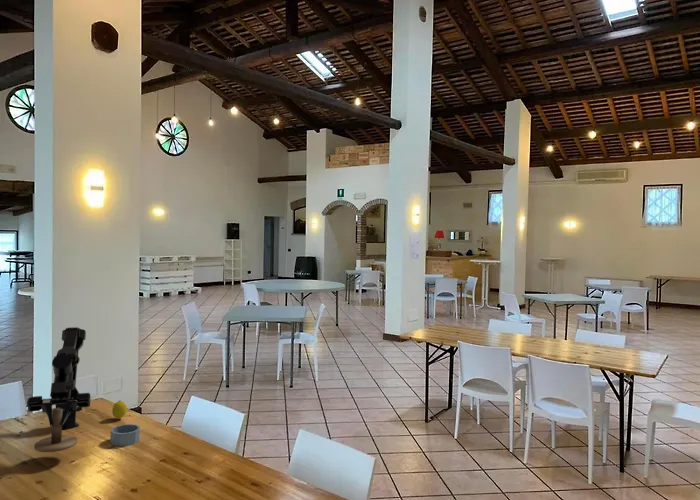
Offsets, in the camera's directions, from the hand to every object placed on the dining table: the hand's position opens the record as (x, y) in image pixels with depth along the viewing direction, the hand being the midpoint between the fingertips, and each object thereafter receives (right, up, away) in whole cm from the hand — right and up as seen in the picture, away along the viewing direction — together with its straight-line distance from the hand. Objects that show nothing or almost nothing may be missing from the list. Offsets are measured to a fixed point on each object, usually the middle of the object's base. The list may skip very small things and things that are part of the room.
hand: (56, 425), depth 160 cm
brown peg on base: (-1, -7, +1) cm, 7 cm away
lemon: (+1, -13, +42) cm, 44 cm away
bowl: (+14, -13, +20) cm, 28 cm away
